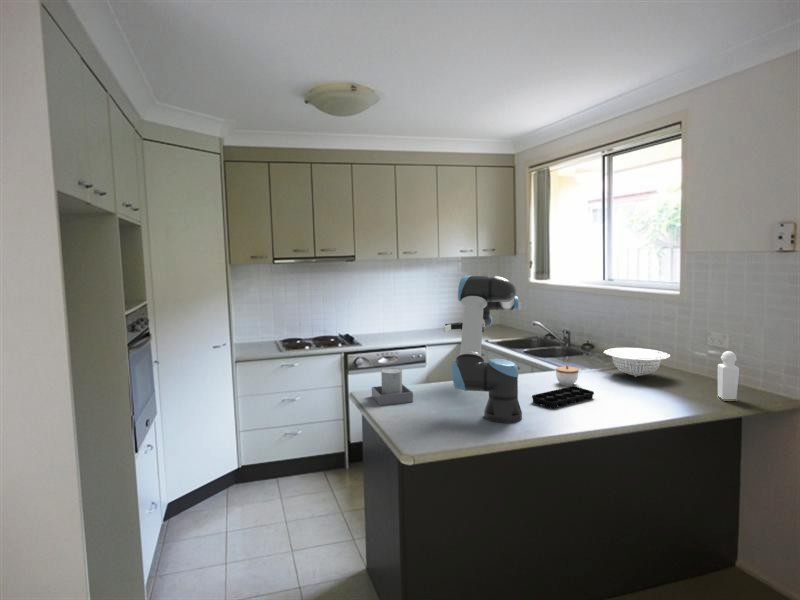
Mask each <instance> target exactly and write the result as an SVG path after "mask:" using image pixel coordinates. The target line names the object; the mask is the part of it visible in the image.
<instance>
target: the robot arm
mask: <svg viewBox="0 0 800 600" xmlns="http://www.w3.org/2000/svg"><path fill="white" fill-rule="evenodd" d="M457 289H458V291H457V299H458V301H459V302H460V304H461V306H462V307H463V314H462V322H460V321H458V322H453V323H452V322H451V323H445V325H444V326H443V333H446V332H450V331H451V330H461V342H460V351H459V352H460V353H459V354H458V355H457V356H456V358H455V361H452V362H451V373H452V382H453V387H454V389H455V390H458V391H464V392H466V391H467V392H469V391H470V392H487V393H488V399H487V402H486V405H485V408H484V412H483V413H484V415H483V417H484V419H486V420H488V421H491V422H494V423H501V424H502V423H503V424H506V423H507V424H510V423H511V424H512V423H517V422H519V421H521V420H522V418H523V411H522V408H521V406H520V402H519V398H518V397H519V395H518V394H519V390H518V389H519V388H518V387H519V385H518V383H519V370H518V365H517V364H516V363H515V362H513V361H511V360H508V359H503V358H490V359H488V362H485V358H484V357H483V356H482V338H483V333H484V331H485V329H488V328H490V327H491V326H492V324H493V317H492V316H491V311H510V312H511V311H512V312H513V311H518V310H519V302H520V301H519V296H516V295H517V294H516V293H517V290H516V287H515V285H514V283H513V282H511V280H508V279H507V278H505V277H502V276H498V275H464V276H462V277H461V278H460V281H459V283H458V288H457Z"/></svg>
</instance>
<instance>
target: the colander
mask: <svg viewBox="0 0 800 600" xmlns="http://www.w3.org/2000/svg"><path fill="white" fill-rule="evenodd" d="M603 354H605V355H606V356H609V357H612V363H613V364H614V366H615V368H617V369H618V371H620V372H622V373H625V374H628V375H631V376H634V377H635V378H637V377H639V376H640V377H641V376H645V375H650V374H653V373H654V372H656V371H657V370H658V369H659V367H660V366H661V362H662V360H666V359H669V358H671V354H668V353H667V352H664V351H660V350H657V349H650V348H641V347H614V348H609V349H606V350H604V351H603Z"/></svg>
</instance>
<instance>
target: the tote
mask: <svg viewBox="0 0 800 600" xmlns="http://www.w3.org/2000/svg"><path fill="white" fill-rule="evenodd" d="M371 397H372V399H373V400H374V401H375V402H376V403H378V405H379V406H387V405H397V404H407V403H414V392H413V391H412V390H411V389H409V388H408V387H407V386H406V385H404V383H402V393H397V394H387V395H382V385H380V386H377V385H376V386H371Z"/></svg>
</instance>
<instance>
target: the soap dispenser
mask: <svg viewBox="0 0 800 600" xmlns="http://www.w3.org/2000/svg"><path fill="white" fill-rule="evenodd" d="M736 355H737V354H735V352H733V351H730V350H727V351H724V352H723V353H722V354H721V356H720V359H721V362H722V363H718V364H717V397H718V396H719V397H721V398H722V399H736V400H737V396H738V386H739V377H740V376H739V375H740V367H739V366H738V365H735V364H736V361H737V360H738V358H737V356H736Z"/></svg>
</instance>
